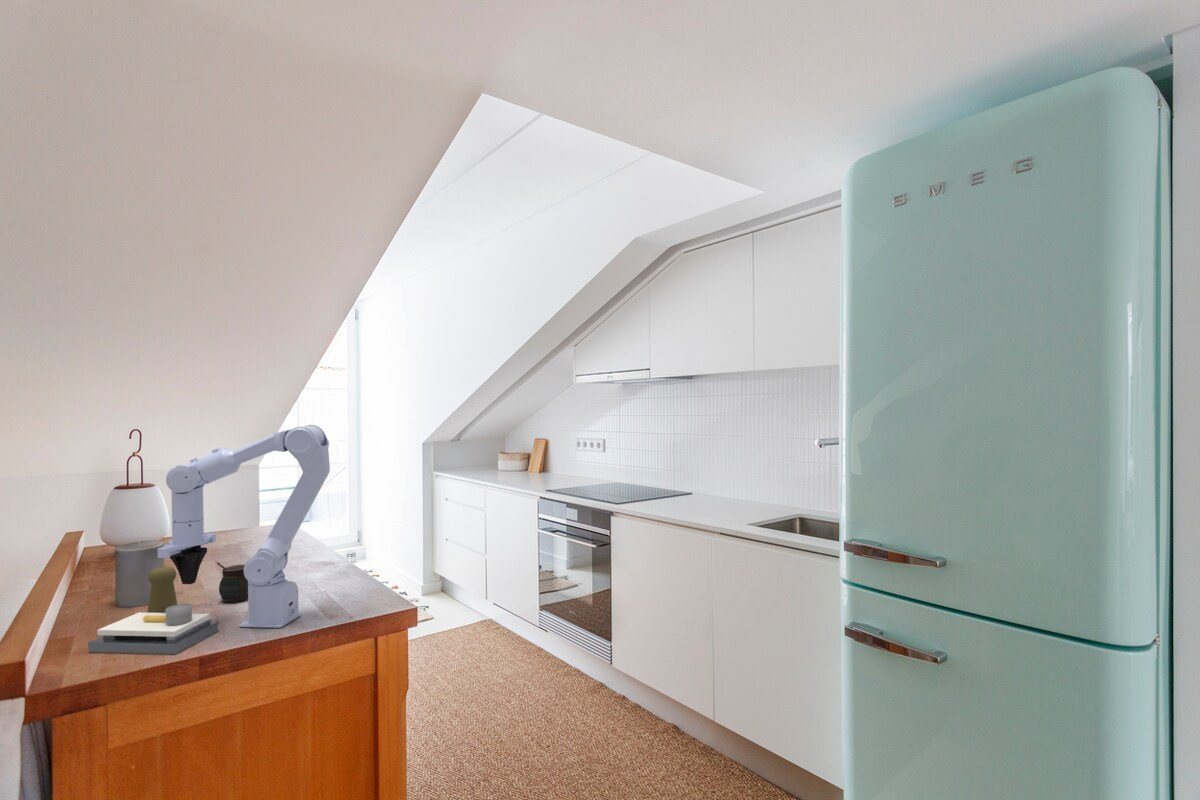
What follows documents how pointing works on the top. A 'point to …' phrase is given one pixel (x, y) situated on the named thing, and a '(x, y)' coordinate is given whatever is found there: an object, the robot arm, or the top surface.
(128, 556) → the pillar candle
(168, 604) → the cork
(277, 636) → the top surface
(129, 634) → the plate
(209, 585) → the top surface
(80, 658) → the top surface
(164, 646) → the grey rectangular base
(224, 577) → the mate gourd
